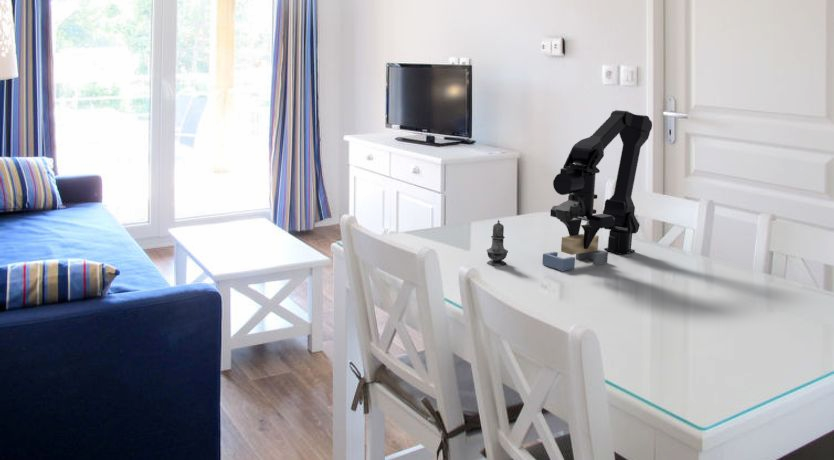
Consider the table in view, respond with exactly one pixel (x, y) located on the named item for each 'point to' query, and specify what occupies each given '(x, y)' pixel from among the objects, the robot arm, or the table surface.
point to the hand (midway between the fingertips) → (579, 247)
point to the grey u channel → (594, 256)
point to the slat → (577, 244)
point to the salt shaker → (497, 247)
